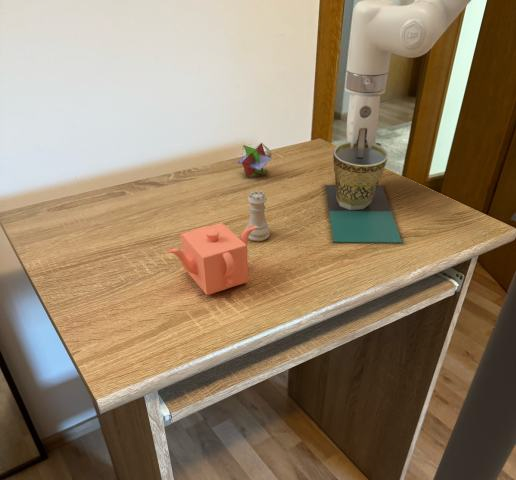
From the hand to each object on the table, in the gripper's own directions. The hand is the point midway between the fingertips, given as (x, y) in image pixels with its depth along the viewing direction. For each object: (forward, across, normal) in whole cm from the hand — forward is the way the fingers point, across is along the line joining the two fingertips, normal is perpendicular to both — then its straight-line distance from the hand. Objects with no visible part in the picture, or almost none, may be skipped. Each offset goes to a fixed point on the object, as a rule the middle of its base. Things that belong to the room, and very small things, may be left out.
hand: (353, 178), depth 102 cm
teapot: (+2, -36, +25) cm, 43 cm away
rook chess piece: (+2, -22, +19) cm, 29 cm away
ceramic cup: (+2, -7, 0) cm, 7 cm away
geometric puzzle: (+3, +6, +21) cm, 22 cm away
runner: (+2, -11, -1) cm, 12 cm away
